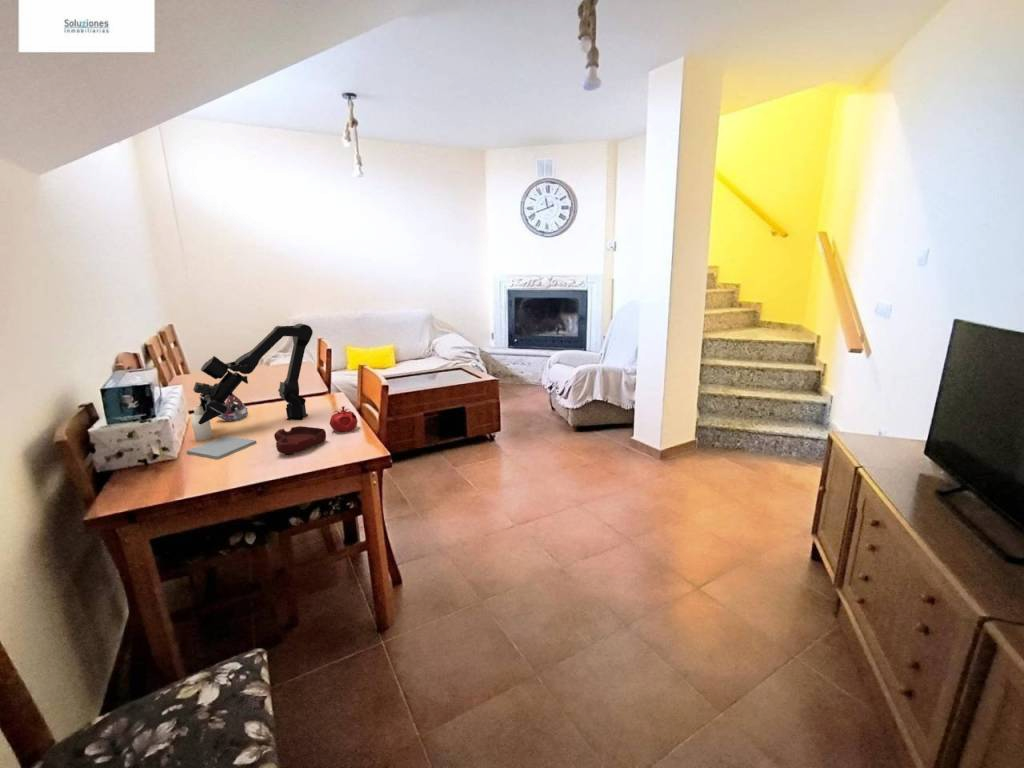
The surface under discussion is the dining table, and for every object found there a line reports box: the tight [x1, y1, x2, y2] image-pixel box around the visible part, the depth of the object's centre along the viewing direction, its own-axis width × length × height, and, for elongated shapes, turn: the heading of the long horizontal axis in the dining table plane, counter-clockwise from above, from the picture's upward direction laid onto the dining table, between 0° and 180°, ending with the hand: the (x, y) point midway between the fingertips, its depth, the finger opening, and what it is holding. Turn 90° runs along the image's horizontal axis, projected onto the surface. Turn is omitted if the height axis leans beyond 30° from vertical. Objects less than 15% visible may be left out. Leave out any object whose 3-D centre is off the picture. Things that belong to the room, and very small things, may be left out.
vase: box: [190, 405, 214, 442], centre depth 172 cm, size 5×5×12 cm
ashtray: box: [273, 425, 327, 457], centre depth 164 cm, size 18×16×5 cm
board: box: [185, 435, 257, 460], centre depth 164 cm, size 15×15×1 cm
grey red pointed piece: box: [217, 393, 249, 422], centre depth 195 cm, size 11×11×12 cm
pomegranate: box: [329, 405, 359, 433], centre depth 179 cm, size 10×10×9 cm
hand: (197, 420), depth 171 cm, fingers open, 9 cm apart
